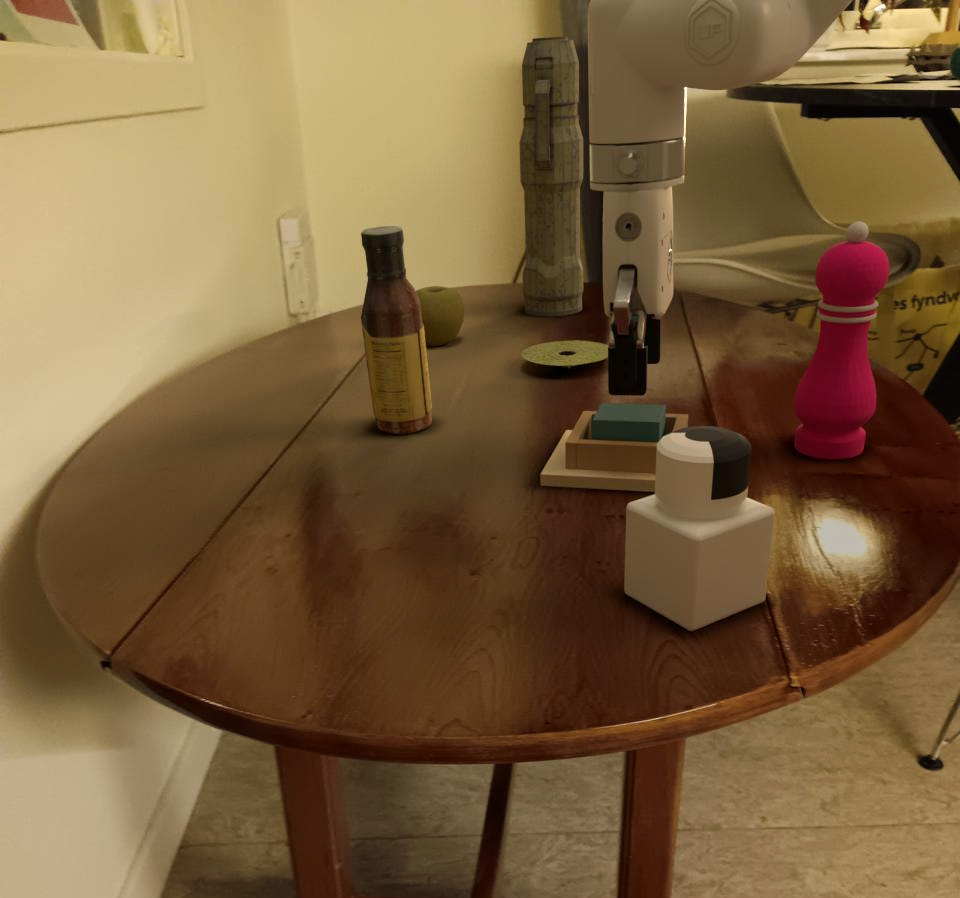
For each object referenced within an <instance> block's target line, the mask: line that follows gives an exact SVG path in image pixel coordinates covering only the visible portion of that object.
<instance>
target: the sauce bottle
mask: <svg viewBox="0 0 960 898" xmlns="http://www.w3.org/2000/svg"><path fill="white" fill-rule="evenodd" d="M360 236H361V245H362V247H363V250H364V254H365V262H366V269H367V272H366V276H367V281H366V286H365V287H366V288H365V292H364V298H363V305H362V310H361V314H360V324H361V329H362V338H363V346H364V354H365V360H366V367H367V374H368V382H369V390H370V397H371V405H372V411H373V416H374V418H375V425H376V426H377V428H378V430H379V431H382V432H384V433H388V434H393V435H410V434H414V433H417V432H422V431H424V430H427V429H428V428H429V427H430V426H431V425H432V421H433V416H432V410H433V402H432V392H431V381H430V373H429V372H430V371H429V363H428V362H429V361H428V354H427V353H428V352H427V346H426V342H425V332H424V324H423V323H422V314H421V304H420V300H419V297H418V295H417V293H416V291H417V290H416V289H415V288H414V286H413V285H412V284H411V282H410V281H409V280H408V279H407V268H406V265H405V256H404V249H403V247H404V243H405V238H404V230H403V228H402V227H401V226H397V225H383V226H375V227H369V228H368V227H367V228H365V229H363V230H362V231H361V233H360Z"/></svg>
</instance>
